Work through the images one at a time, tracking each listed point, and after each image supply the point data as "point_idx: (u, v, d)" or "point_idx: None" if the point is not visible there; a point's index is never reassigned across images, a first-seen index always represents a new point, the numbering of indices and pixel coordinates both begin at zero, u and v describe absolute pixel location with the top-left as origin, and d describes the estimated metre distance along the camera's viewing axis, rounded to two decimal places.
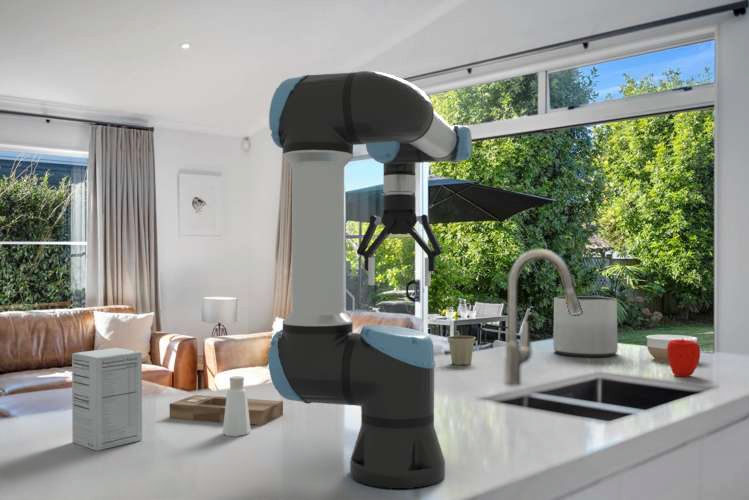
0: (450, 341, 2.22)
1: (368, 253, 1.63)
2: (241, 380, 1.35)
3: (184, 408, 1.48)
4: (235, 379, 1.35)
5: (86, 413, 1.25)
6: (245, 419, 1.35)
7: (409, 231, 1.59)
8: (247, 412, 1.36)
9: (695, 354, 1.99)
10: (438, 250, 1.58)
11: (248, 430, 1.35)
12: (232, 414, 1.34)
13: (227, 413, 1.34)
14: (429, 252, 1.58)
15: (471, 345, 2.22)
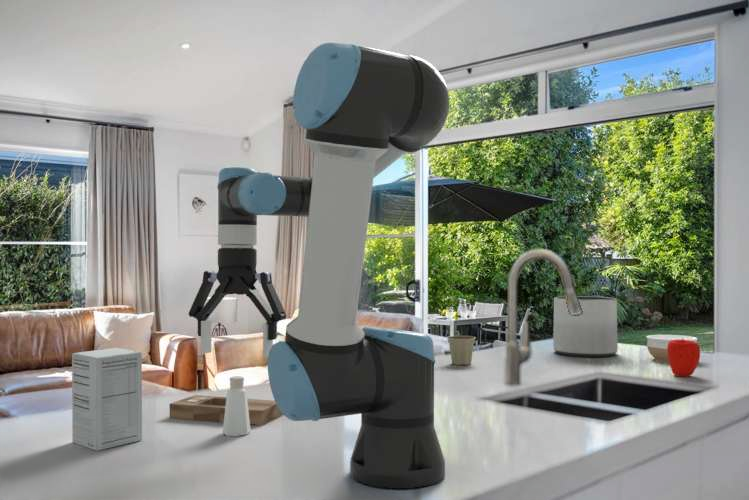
0: (450, 341, 2.22)
1: (201, 316, 1.37)
2: (241, 380, 1.35)
3: (184, 408, 1.48)
4: (235, 379, 1.35)
5: (86, 413, 1.25)
6: (245, 419, 1.35)
7: (246, 292, 1.34)
8: (247, 412, 1.36)
9: (695, 354, 1.99)
10: (278, 315, 1.32)
11: (248, 430, 1.35)
12: (232, 414, 1.34)
13: (227, 413, 1.34)
14: (268, 317, 1.33)
15: (471, 345, 2.22)
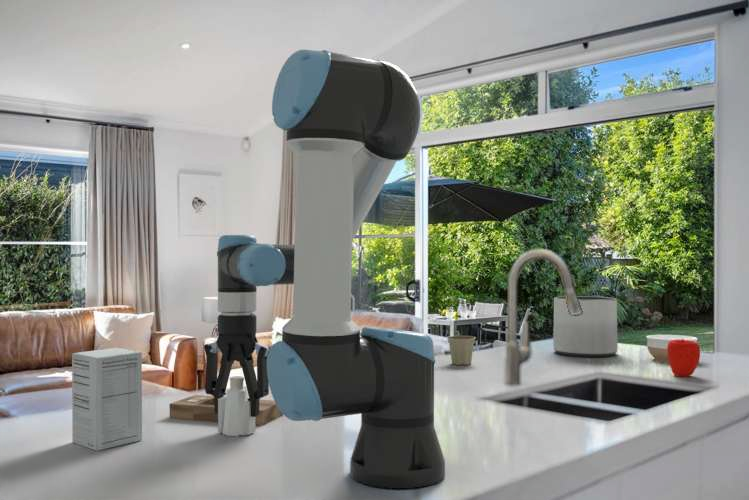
0: (450, 341, 2.22)
1: (217, 392, 1.36)
2: (241, 380, 1.35)
3: (184, 408, 1.48)
4: (235, 379, 1.35)
5: (86, 413, 1.25)
6: None
7: (241, 361, 1.34)
8: None
9: (695, 354, 1.99)
10: (261, 393, 1.33)
11: None
12: (232, 414, 1.34)
13: (227, 413, 1.34)
14: (251, 394, 1.34)
15: (471, 345, 2.22)
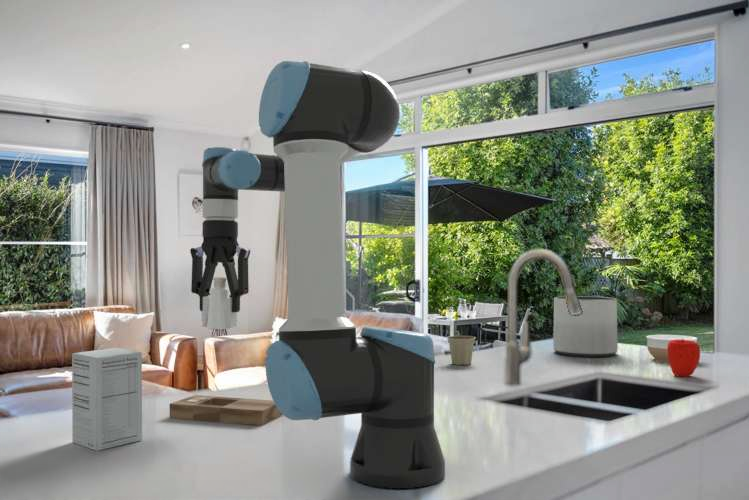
0: (450, 341, 2.22)
1: (202, 291, 1.50)
2: (224, 279, 1.49)
3: (184, 408, 1.48)
4: (218, 278, 1.49)
5: (86, 413, 1.25)
6: None
7: (223, 262, 1.48)
8: None
9: (695, 354, 1.99)
10: (241, 290, 1.47)
11: None
12: (215, 309, 1.48)
13: (211, 309, 1.49)
14: (233, 291, 1.48)
15: (471, 345, 2.22)
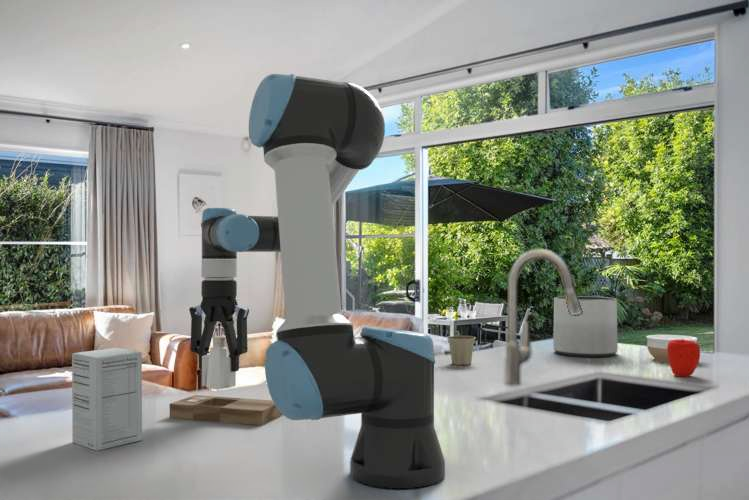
0: (450, 341, 2.22)
1: (201, 350, 1.51)
2: (223, 339, 1.50)
3: (184, 408, 1.48)
4: (217, 338, 1.50)
5: (86, 413, 1.25)
6: None
7: (222, 322, 1.49)
8: None
9: (695, 354, 1.99)
10: (240, 350, 1.48)
11: None
12: (214, 369, 1.49)
13: (210, 368, 1.49)
14: (232, 351, 1.49)
15: (471, 345, 2.22)
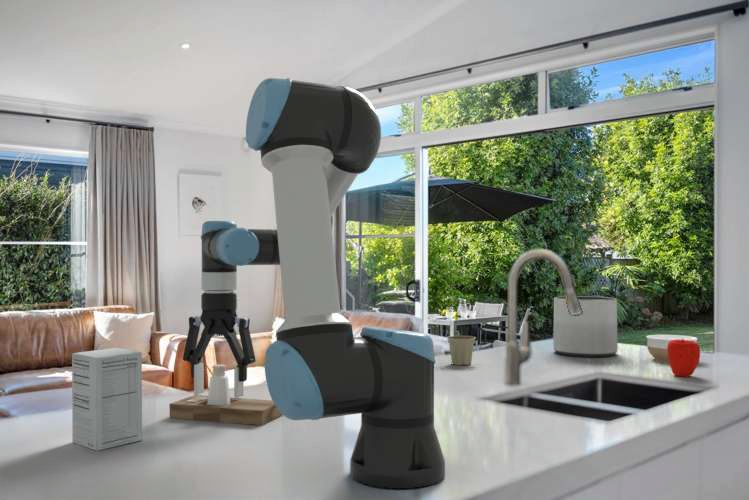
0: (450, 341, 2.22)
1: (194, 359, 1.51)
2: (223, 368, 1.50)
3: (184, 408, 1.48)
4: (217, 367, 1.49)
5: (86, 413, 1.25)
6: (226, 403, 1.49)
7: (224, 334, 1.49)
8: (228, 396, 1.51)
9: (695, 354, 1.99)
10: (248, 360, 1.47)
11: None
12: (214, 398, 1.49)
13: (210, 398, 1.49)
14: (239, 361, 1.48)
15: (471, 345, 2.22)
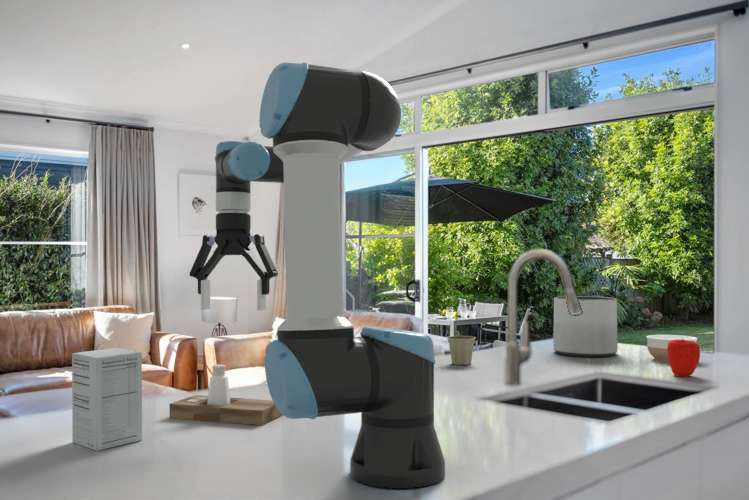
0: (450, 341, 2.22)
1: (201, 275, 1.53)
2: (222, 368, 1.50)
3: (184, 408, 1.48)
4: (217, 367, 1.50)
5: (86, 413, 1.25)
6: (226, 403, 1.49)
7: (241, 252, 1.50)
8: (228, 396, 1.51)
9: (695, 354, 1.99)
10: (271, 272, 1.48)
11: None
12: (214, 398, 1.49)
13: (210, 398, 1.49)
14: (262, 274, 1.49)
15: (471, 345, 2.22)
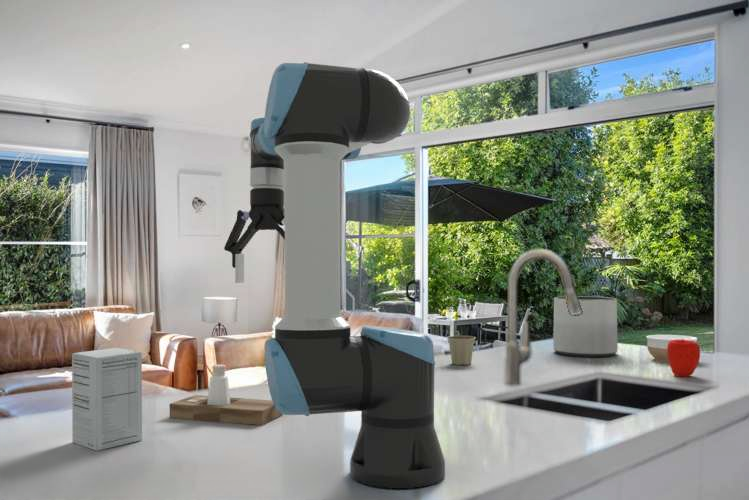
0: (450, 341, 2.22)
1: (235, 249, 1.56)
2: (222, 368, 1.50)
3: (184, 408, 1.48)
4: (217, 367, 1.50)
5: (86, 413, 1.25)
6: (226, 403, 1.49)
7: (275, 226, 1.53)
8: (228, 396, 1.51)
9: (695, 354, 1.99)
10: None
11: None
12: (214, 398, 1.49)
13: (210, 398, 1.49)
14: None
15: (471, 345, 2.22)
